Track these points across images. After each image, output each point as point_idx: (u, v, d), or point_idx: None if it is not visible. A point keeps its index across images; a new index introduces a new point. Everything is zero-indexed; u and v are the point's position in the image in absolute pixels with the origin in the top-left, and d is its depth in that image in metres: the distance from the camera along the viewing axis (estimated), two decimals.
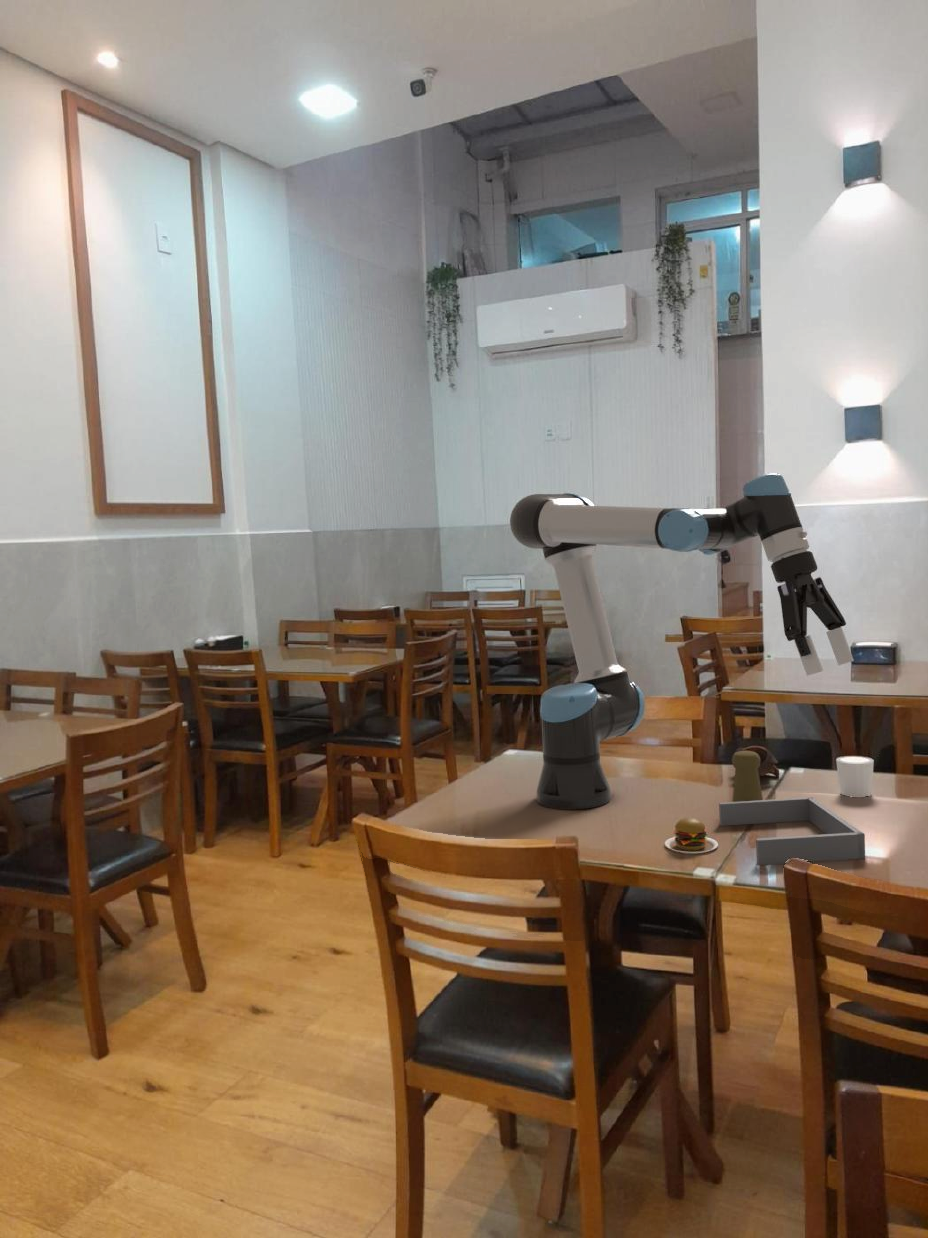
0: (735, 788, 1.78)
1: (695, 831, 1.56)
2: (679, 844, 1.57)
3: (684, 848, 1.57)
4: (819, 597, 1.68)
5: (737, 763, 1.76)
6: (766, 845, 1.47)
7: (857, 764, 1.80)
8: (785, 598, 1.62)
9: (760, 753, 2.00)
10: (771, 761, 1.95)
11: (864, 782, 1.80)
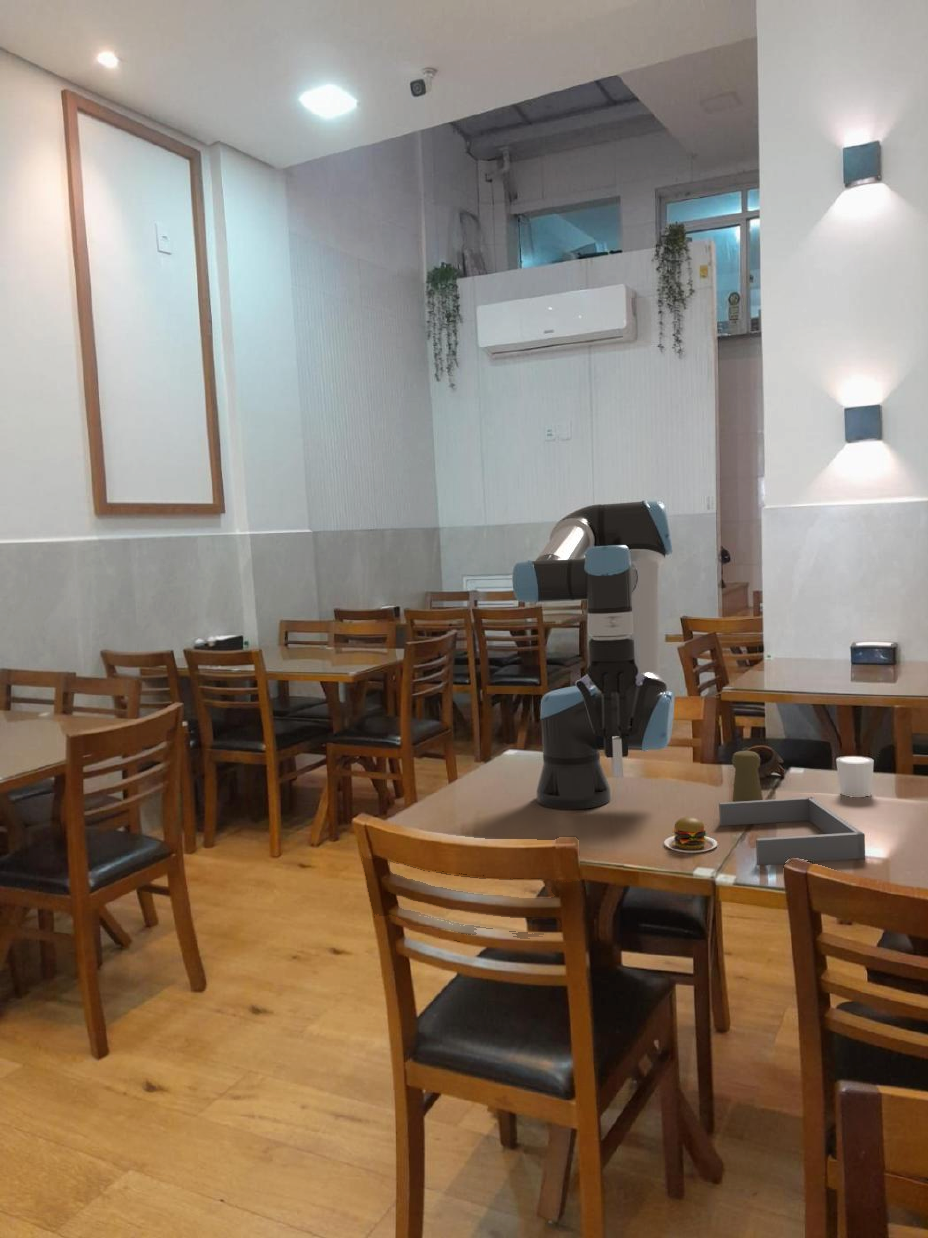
0: (735, 788, 1.78)
1: (694, 830, 1.56)
2: (678, 843, 1.58)
3: (683, 847, 1.57)
4: (619, 690, 1.55)
5: (737, 763, 1.76)
6: (766, 845, 1.47)
7: (857, 764, 1.80)
8: (582, 696, 1.56)
9: (765, 753, 2.00)
10: (777, 760, 1.95)
11: (864, 782, 1.80)
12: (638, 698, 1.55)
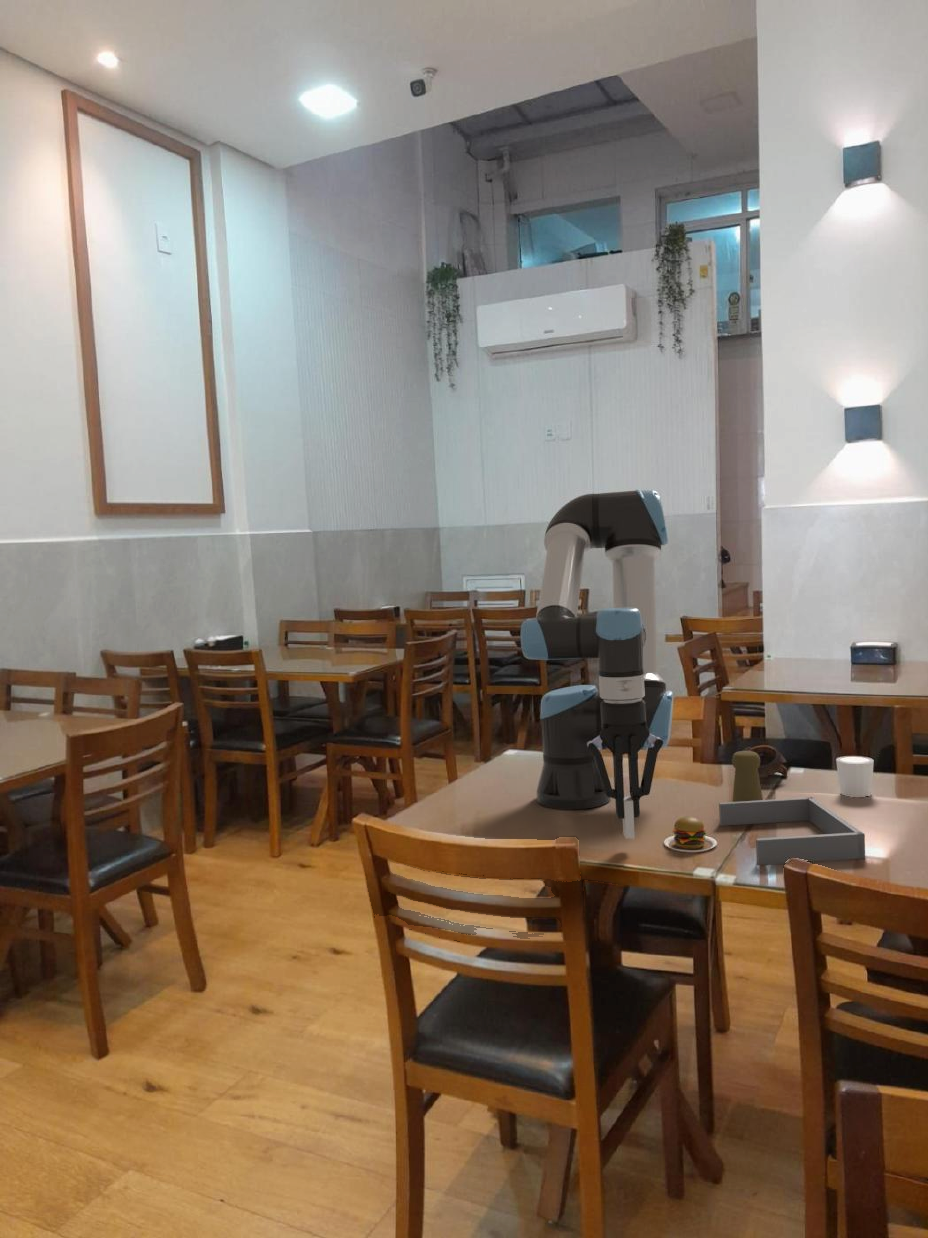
0: (735, 788, 1.78)
1: (693, 830, 1.56)
2: (678, 843, 1.58)
3: (682, 847, 1.57)
4: (630, 752, 1.56)
5: (737, 763, 1.76)
6: (766, 845, 1.47)
7: (857, 764, 1.80)
8: (594, 757, 1.57)
9: (768, 752, 2.00)
10: (780, 760, 1.95)
11: (864, 782, 1.80)
12: (649, 760, 1.56)
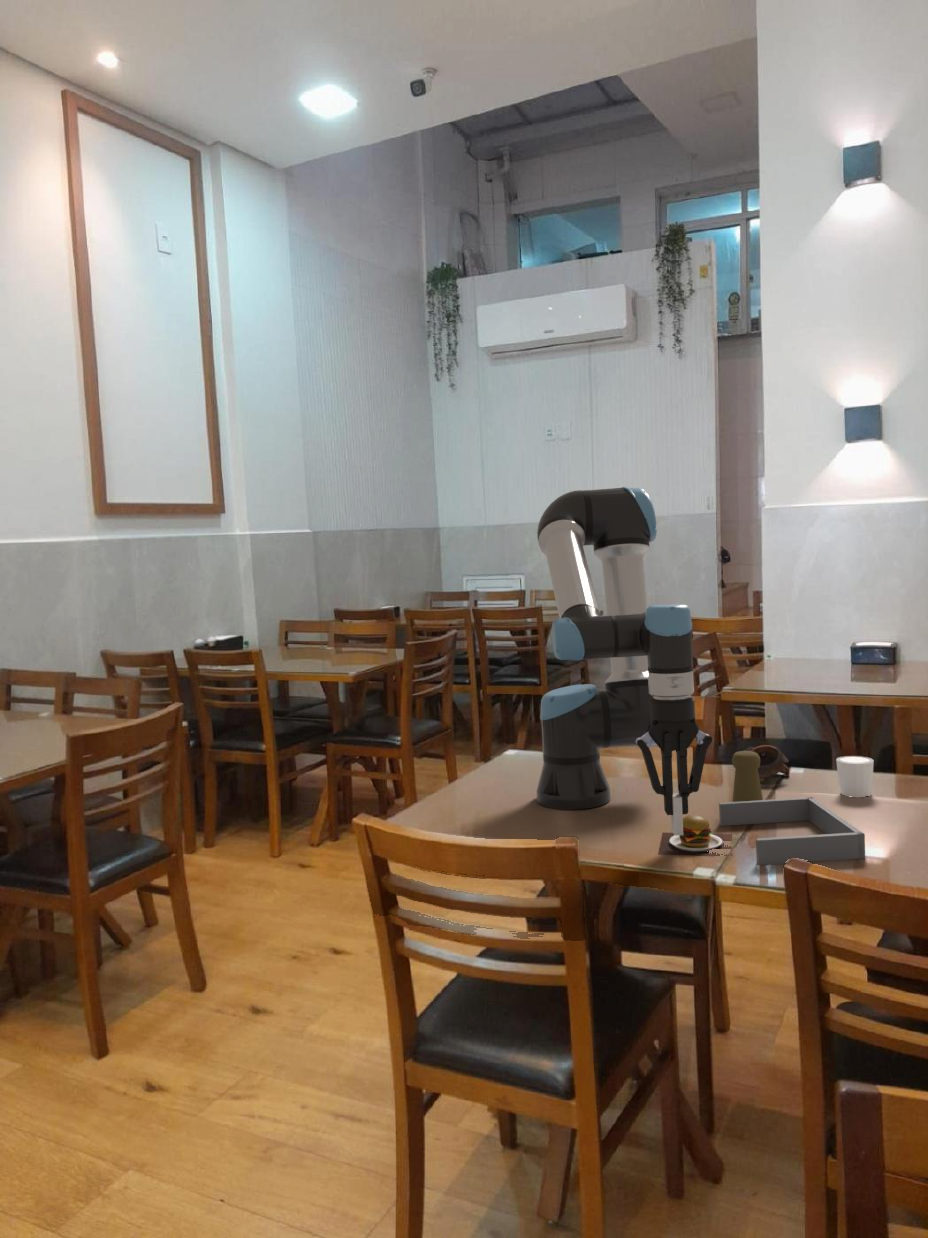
0: (735, 788, 1.78)
1: (699, 828, 1.57)
2: (684, 841, 1.58)
3: (688, 845, 1.58)
4: (679, 749, 1.56)
5: (737, 763, 1.76)
6: (766, 845, 1.47)
7: (857, 764, 1.80)
8: (643, 753, 1.57)
9: (770, 752, 2.00)
10: (782, 760, 1.95)
11: (864, 782, 1.80)
12: (699, 757, 1.56)
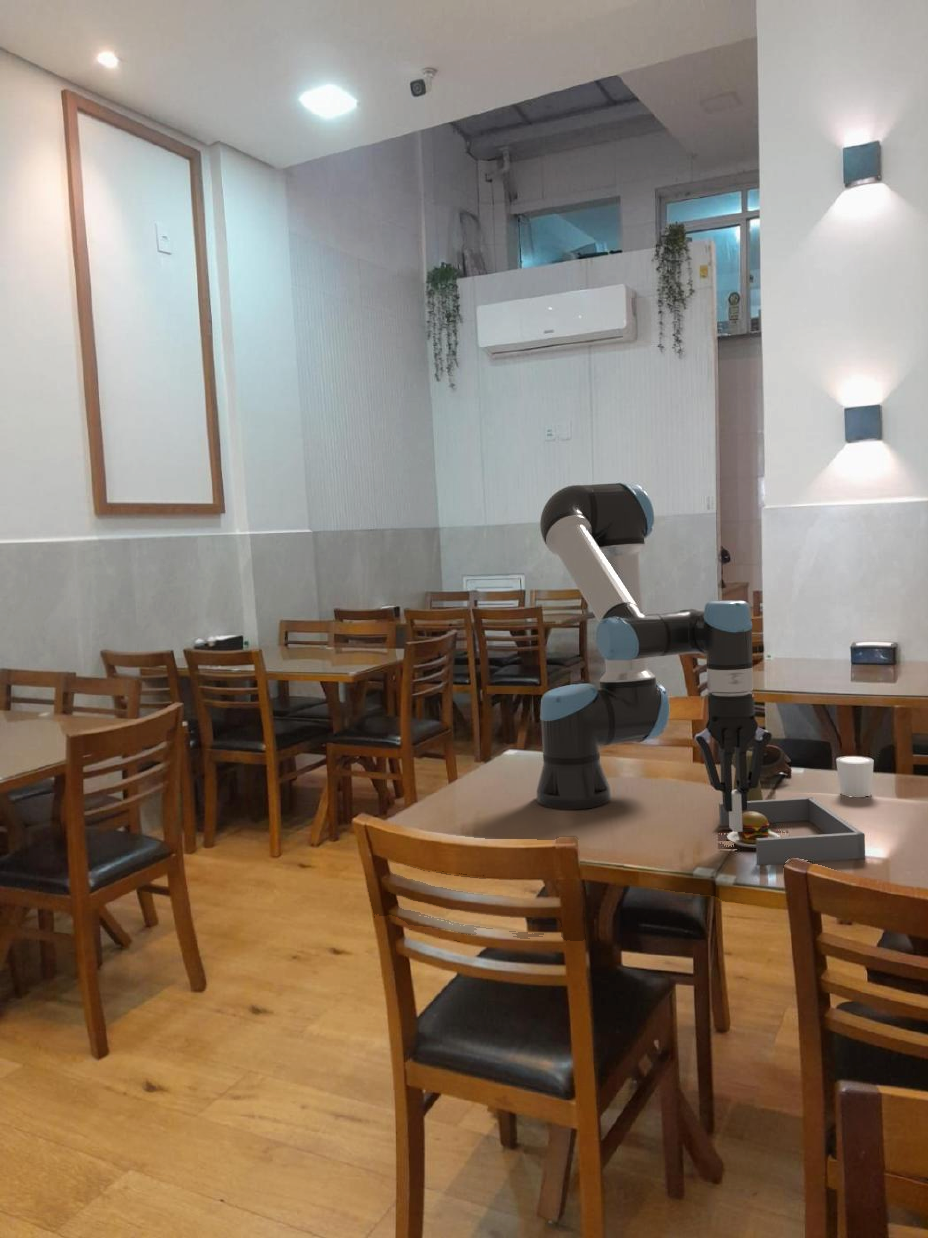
0: (735, 788, 1.78)
1: (758, 824, 1.57)
2: (742, 838, 1.58)
3: (747, 841, 1.58)
4: (739, 745, 1.56)
5: None
6: (766, 845, 1.47)
7: (857, 764, 1.80)
8: (701, 750, 1.57)
9: (772, 752, 2.01)
10: (784, 760, 1.95)
11: (864, 782, 1.80)
12: (758, 753, 1.56)
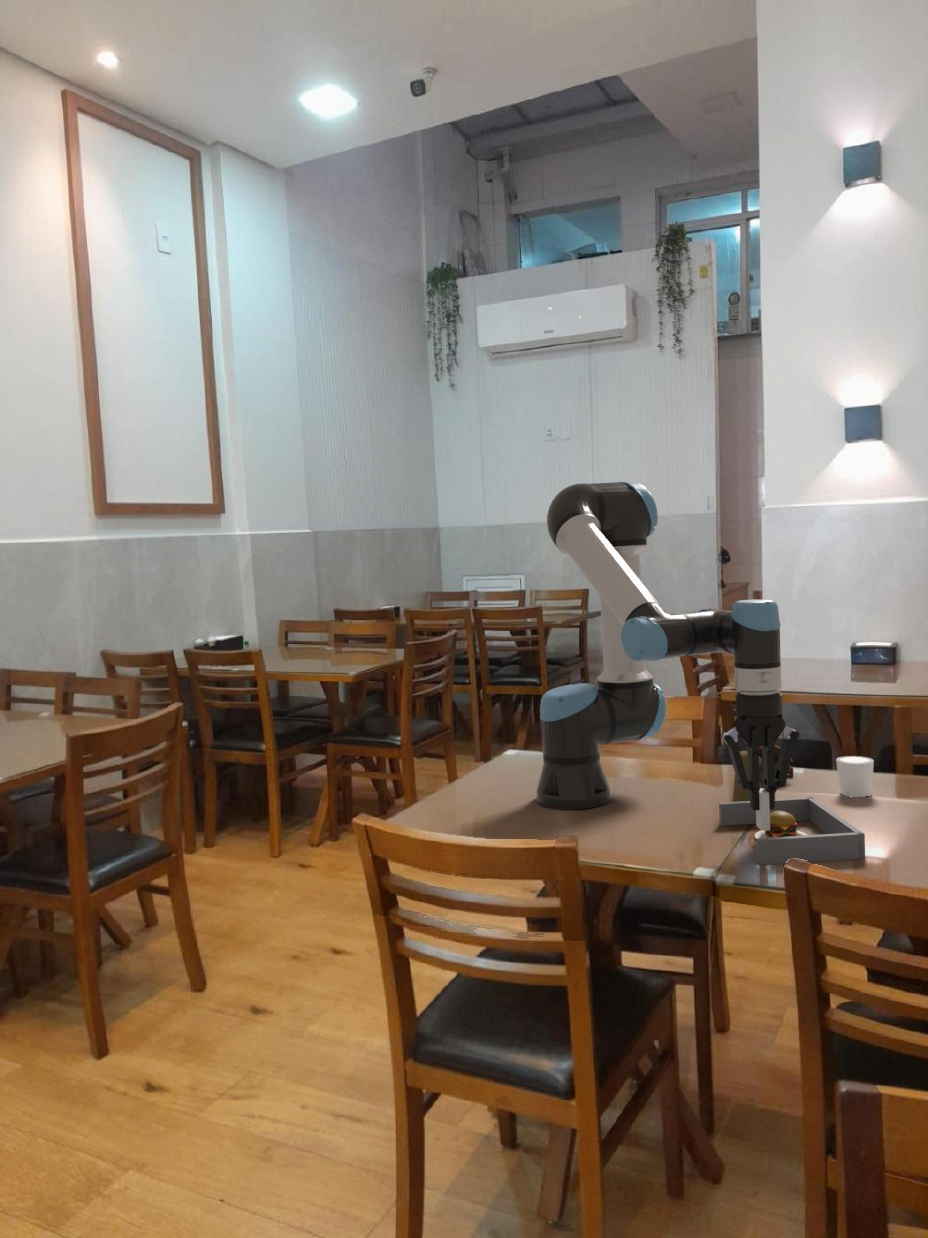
0: (735, 788, 1.78)
1: (786, 824, 1.57)
2: (770, 837, 1.58)
3: None
4: (767, 744, 1.56)
5: None
6: (766, 845, 1.47)
7: (857, 764, 1.80)
8: (729, 749, 1.57)
9: (774, 752, 2.01)
10: None
11: (864, 782, 1.80)
12: (786, 752, 1.56)
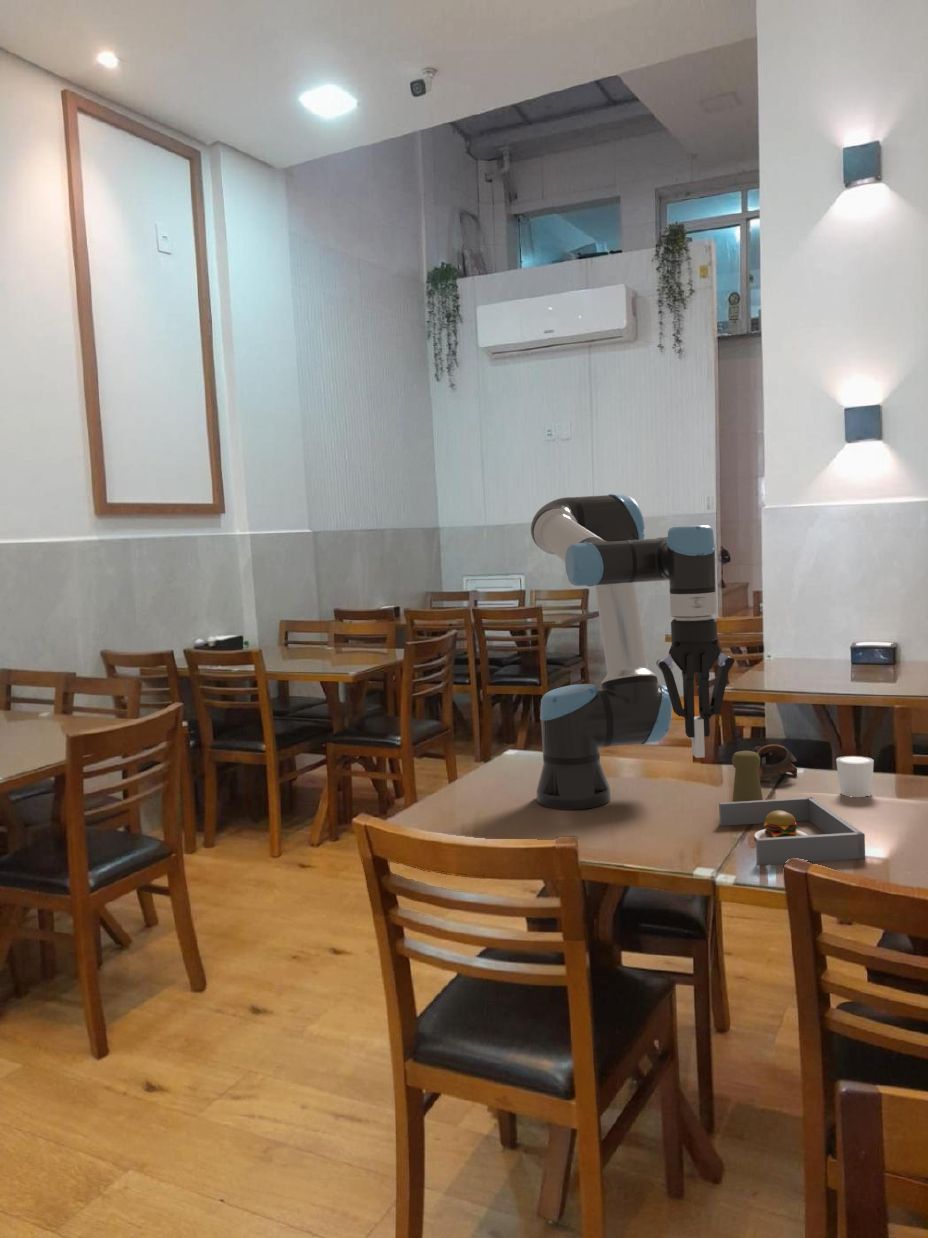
0: (735, 788, 1.78)
1: (786, 824, 1.57)
2: (770, 837, 1.58)
3: None
4: (701, 670, 1.55)
5: (737, 763, 1.76)
6: (766, 845, 1.47)
7: (857, 764, 1.80)
8: (664, 676, 1.57)
9: (778, 751, 2.01)
10: (790, 759, 1.95)
11: (864, 782, 1.80)
12: (720, 678, 1.55)
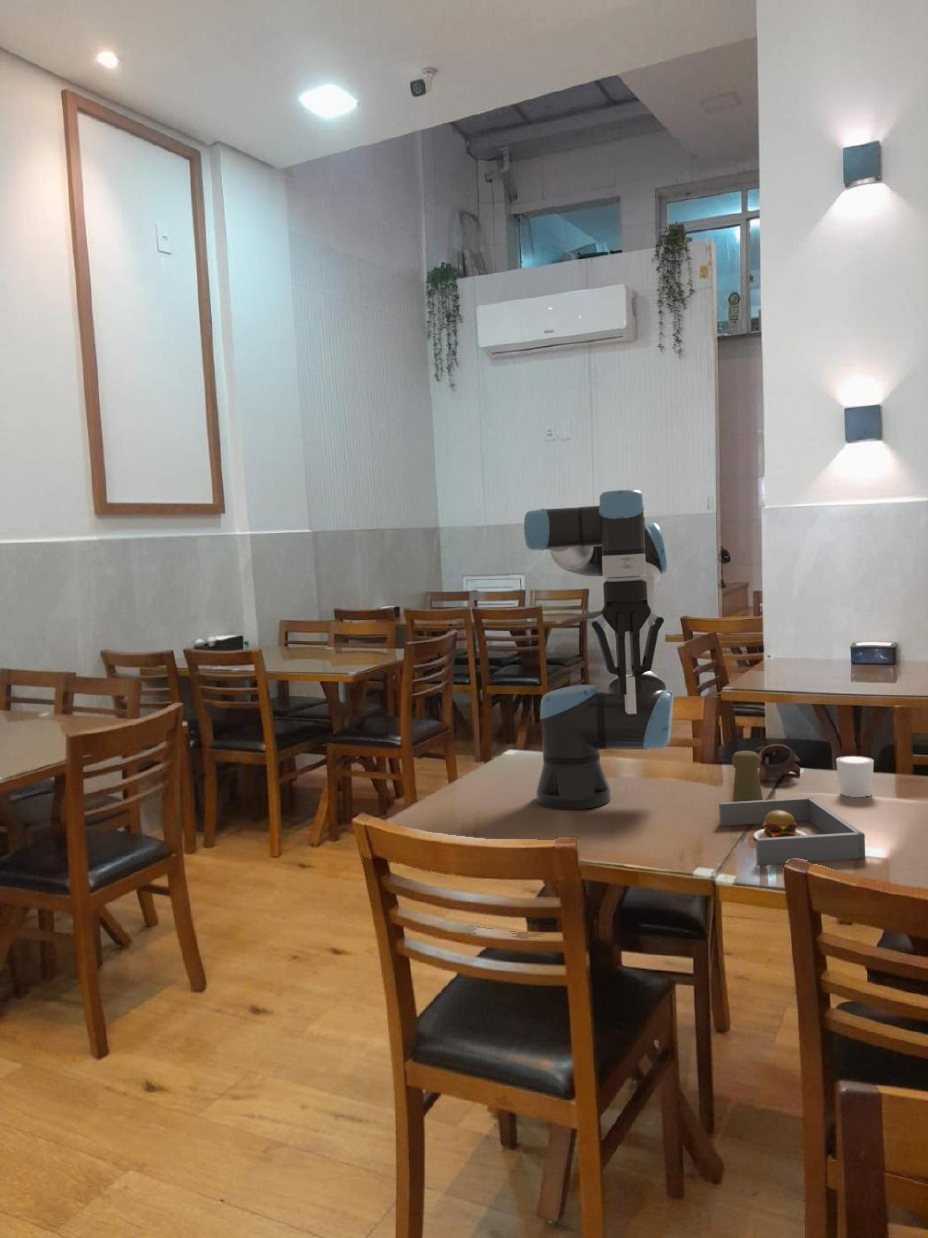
0: (735, 788, 1.78)
1: (785, 823, 1.57)
2: (769, 836, 1.58)
3: None
4: (632, 629, 1.61)
5: (737, 763, 1.76)
6: (766, 845, 1.47)
7: (857, 764, 1.80)
8: (597, 635, 1.63)
9: (781, 751, 2.01)
10: (794, 759, 1.95)
11: (864, 782, 1.80)
12: (651, 637, 1.62)
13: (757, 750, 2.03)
